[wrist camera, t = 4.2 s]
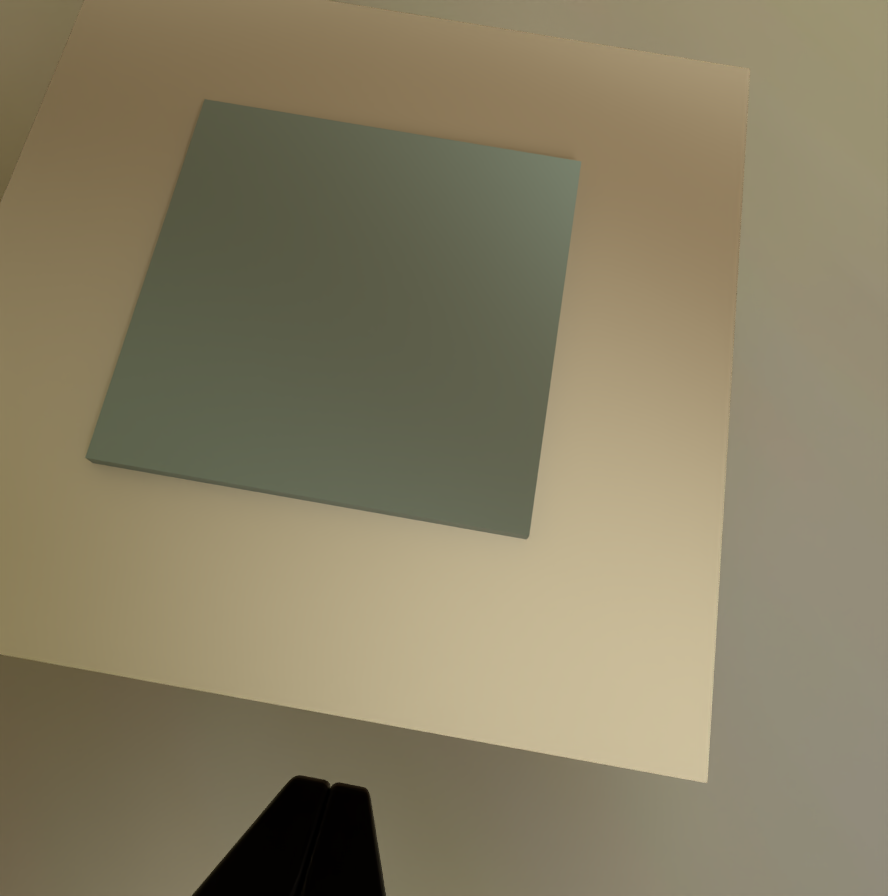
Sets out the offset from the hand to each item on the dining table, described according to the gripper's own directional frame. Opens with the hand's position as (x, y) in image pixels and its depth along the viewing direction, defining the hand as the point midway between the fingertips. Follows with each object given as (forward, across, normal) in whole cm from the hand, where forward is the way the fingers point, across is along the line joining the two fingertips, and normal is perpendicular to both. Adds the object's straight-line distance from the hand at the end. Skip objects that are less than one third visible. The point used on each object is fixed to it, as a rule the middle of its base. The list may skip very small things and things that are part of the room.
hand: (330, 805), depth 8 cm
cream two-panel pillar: (+7, 0, +2) cm, 8 cm away
